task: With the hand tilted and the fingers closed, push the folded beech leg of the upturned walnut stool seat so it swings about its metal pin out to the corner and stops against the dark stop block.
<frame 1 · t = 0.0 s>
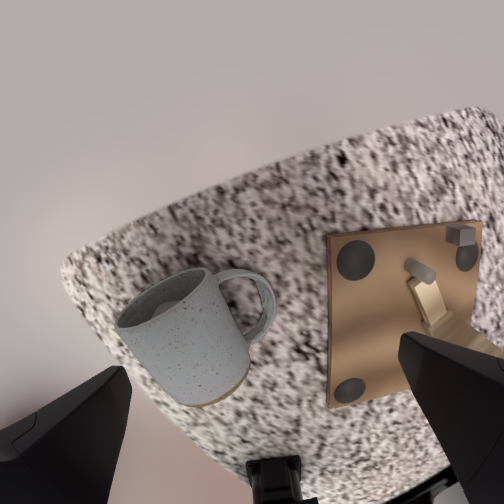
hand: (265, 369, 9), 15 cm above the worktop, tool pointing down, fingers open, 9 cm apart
hinged leg: (467, 336, 17), point 8 cm above the worktop, hinge at -60.0°
stool seat: (407, 315, 25), on the worktop
ceramic mug: (206, 307, 24), on the worktop
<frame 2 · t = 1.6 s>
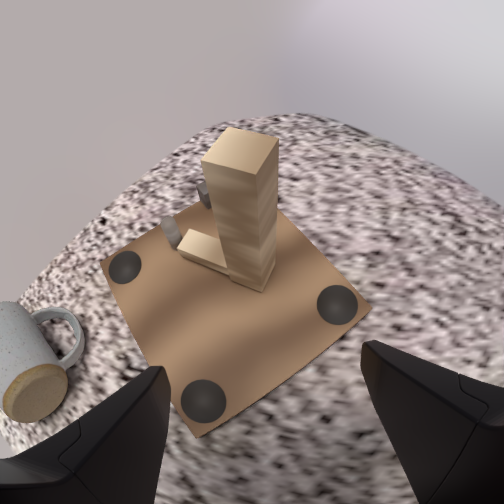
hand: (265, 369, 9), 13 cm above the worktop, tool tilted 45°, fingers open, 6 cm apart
hinged leg: (213, 214, 18), point 8 cm above the worktop, hinge at -60.0°
stool seat: (224, 292, 24), on the worktop
ceramic mug: (49, 362, 21), on the worktop
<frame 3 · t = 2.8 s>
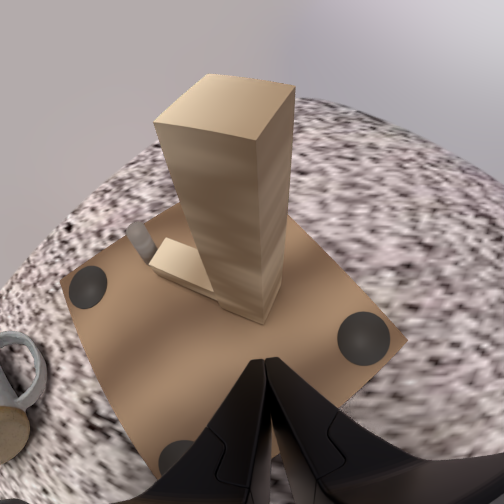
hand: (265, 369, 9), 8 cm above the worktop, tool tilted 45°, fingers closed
hinged leg: (192, 219, 12), point 8 cm above the worktop, hinge at -60.0°
stool seat: (213, 321, 18), on the worktop
ceramic mug: (11, 395, 15), on the worktop
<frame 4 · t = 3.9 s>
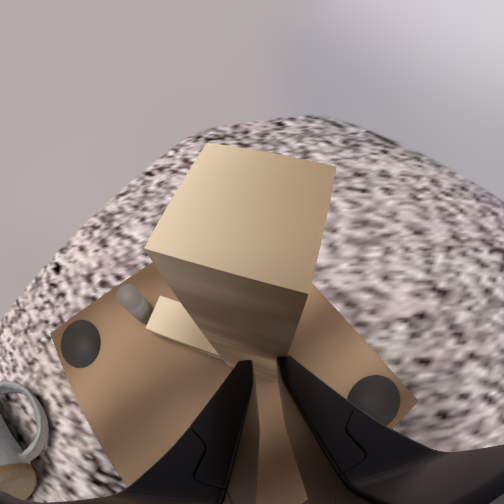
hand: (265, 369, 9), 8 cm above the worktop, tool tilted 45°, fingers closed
hinged leg: (194, 298, 11), point 8 cm above the worktop, hinge at -54.6°, touching gripper
stool seat: (215, 384, 16), on the worktop
ceramic mug: (14, 440, 13), on the worktop
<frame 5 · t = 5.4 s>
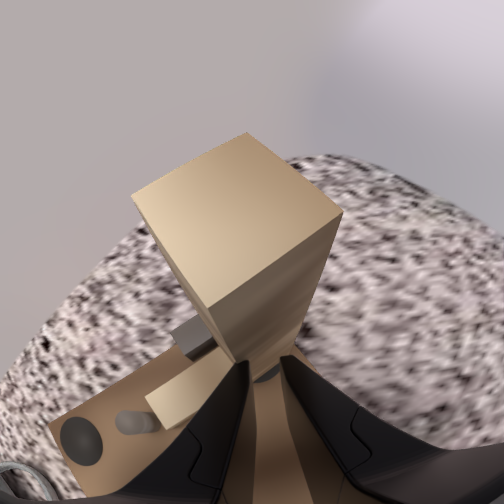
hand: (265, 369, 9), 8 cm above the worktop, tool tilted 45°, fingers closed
hinged leg: (191, 356, 9), point 8 cm above the worktop, hinge at 1.0°, touching gripper
stool seat: (227, 488, 13), on the worktop
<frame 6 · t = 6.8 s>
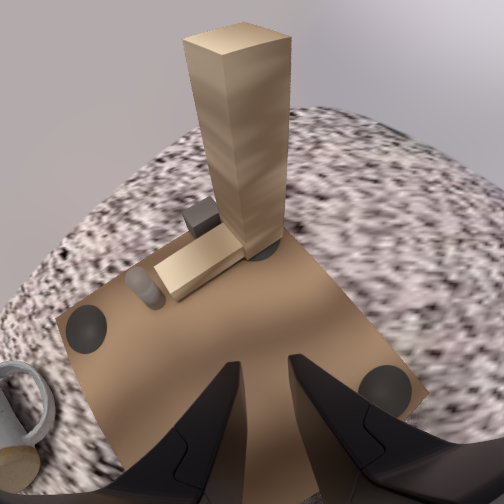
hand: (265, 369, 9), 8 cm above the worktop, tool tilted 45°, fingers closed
hinged leg: (201, 185, 12), point 8 cm above the worktop, hinge at 1.0°
stool seat: (224, 372, 16), on the worktop
ceramic mug: (18, 423, 14), on the worktop
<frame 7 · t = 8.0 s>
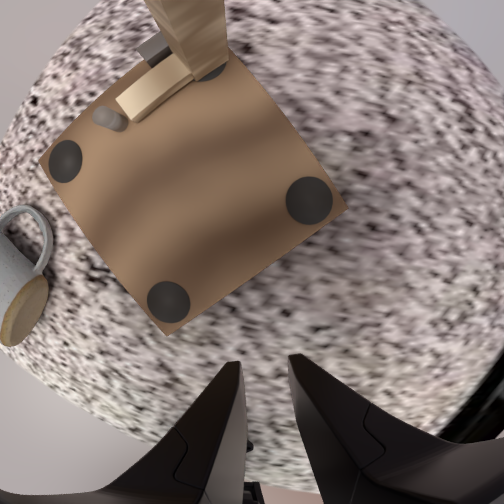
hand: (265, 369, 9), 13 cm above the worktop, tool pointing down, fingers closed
hinged leg: (147, 41, 11), point 8 cm above the worktop, hinge at 1.0°
stool seat: (179, 175, 20), on the worktop
ceramic mug: (24, 259, 21), on the worktop
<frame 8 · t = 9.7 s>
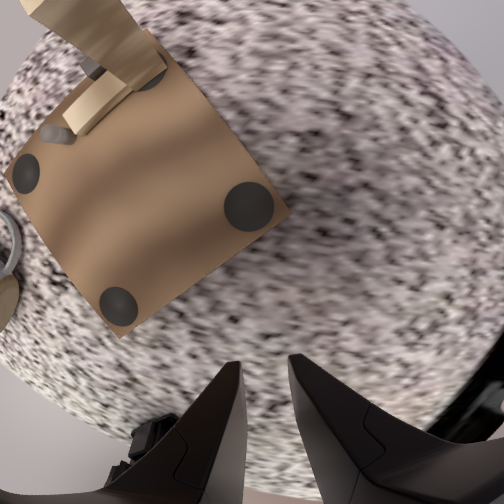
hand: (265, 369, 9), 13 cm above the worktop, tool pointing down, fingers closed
hinged leg: (71, 63, 10), point 8 cm above the worktop, hinge at 1.0°
stool seat: (125, 184, 19), on the worktop
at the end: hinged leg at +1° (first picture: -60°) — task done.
